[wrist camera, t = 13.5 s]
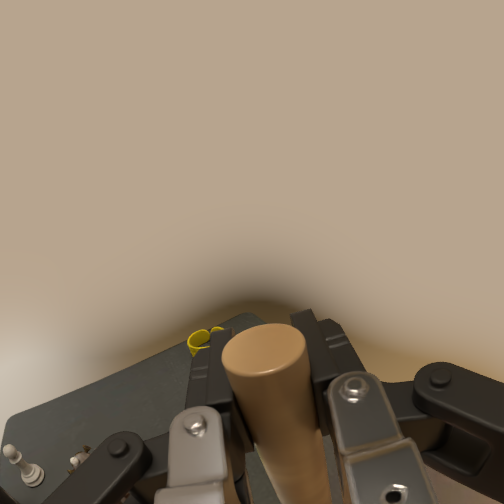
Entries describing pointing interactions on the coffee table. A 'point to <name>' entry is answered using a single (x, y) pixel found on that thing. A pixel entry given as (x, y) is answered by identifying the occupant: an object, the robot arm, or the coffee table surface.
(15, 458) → the chess piece
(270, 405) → the stick
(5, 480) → the coffee table surface
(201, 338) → the bracelet
